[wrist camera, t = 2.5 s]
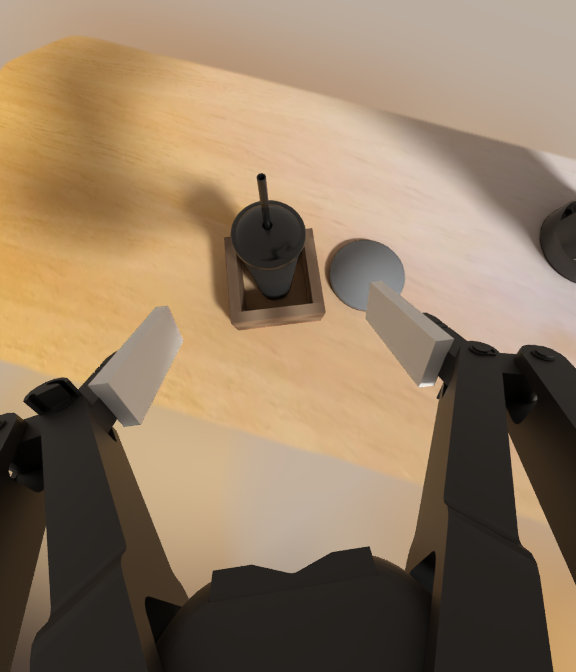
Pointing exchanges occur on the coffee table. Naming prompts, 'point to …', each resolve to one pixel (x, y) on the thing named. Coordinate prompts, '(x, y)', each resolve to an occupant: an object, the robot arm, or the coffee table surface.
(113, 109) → the coffee table surface
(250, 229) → the drinking cup
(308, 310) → the wooden square tray
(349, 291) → the coaster
